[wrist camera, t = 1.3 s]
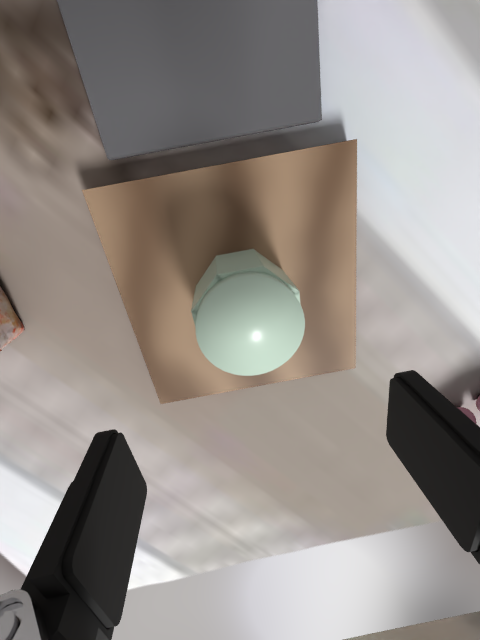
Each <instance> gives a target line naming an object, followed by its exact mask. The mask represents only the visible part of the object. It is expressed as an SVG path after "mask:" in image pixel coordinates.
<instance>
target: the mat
mask: <svg viewBox="0 0 480 640" xmlns="http://www.w3.org/2000/svg"><path fill="white" fill-rule="evenodd" d="M57 2H58V5H59V8H60V11H61V15H62V18H63V21H64V24H65V27H66V30H67V33H68V36H69V40H70V43H71V46H72V49H73V52H74V55H75V58H76V61H77V65H78V68H79V71H80V74H81V77H82V80H83V83H84V86H85V90H86V93H87V96H88V99H89V102H90V105H91V108H92V111H93V115H94V118H95V121H96V124H97V127H98V130H99V133H100V136H101V140H102V143H103V146H104V149H105V152H106V155H107V158H108V159H109V160H116V159H121V158H126V157H132V156H137V155H142V154H148V153H153V152H159V151H164V150H169V149H175V148H180V147H185V146H191V145H196V144H202V143H207V142H212V141H218V140H223V139H228V138H234V137H239V136H245V135H250V134H255V133H261V132H266V131H271V130H277V129H282V128H288V127H293V126H298V125H304V124H309V123H314V122H318V121H320V120H322V114H321V87H320V61H319V34H318V7H317V0H57Z"/></svg>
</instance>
